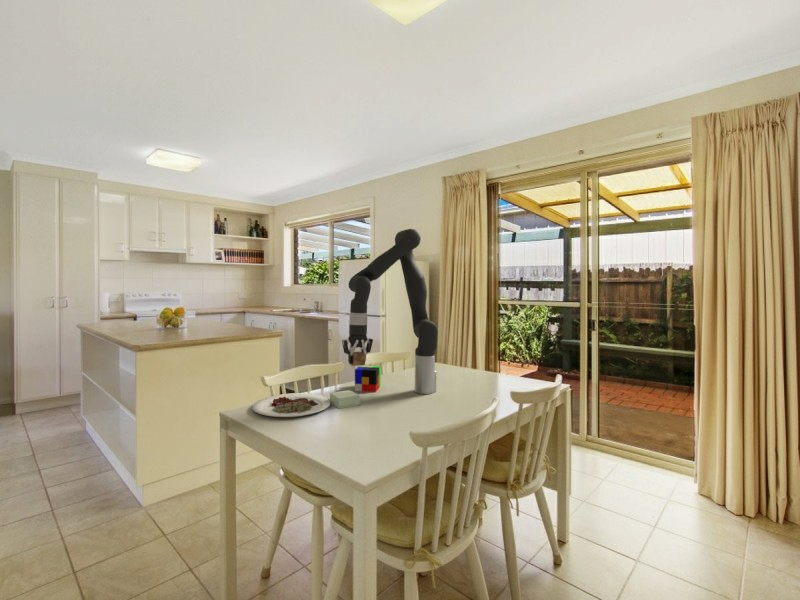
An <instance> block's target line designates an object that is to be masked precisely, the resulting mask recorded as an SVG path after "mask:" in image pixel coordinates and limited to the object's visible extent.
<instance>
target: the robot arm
mask: <svg viewBox="0 0 800 600" xmlns="http://www.w3.org/2000/svg"><path fill="white" fill-rule="evenodd" d="M421 239H422V238H421V234H420V232H419V231H418V230H416V229H415V228H408V229H403V230H400V231H398V232H397V233H396V235H395V237H394V243H395V244H394V245H393V246H392V247H390V248H389V249H388V250H386V251H384V252H383V253H382V254H380V255H379V256H377V257H376V258H375V259H373V260H372V261H371V262H370V263H369V264H368V265H367V266H366V267H364V268H363V269H362V270H359V272H357V273H356V274H354V275H353V276H352V277H351V278H350V279H349V281H348V289H349V290H350V291H351V292H353V293H354V297H353V298H352V299H351V300H350V306H349V307H350V313H349V320H348V322H349V323H348V326H349V327H348V337H347V339H342V340H341V345H342V347H343V353H344V354H346V355H348V357H347V358H348V360H347V361H348V364H349V363H350V364H349V365H351V364H353V353H354V352H355V351H356V349H357V348H359V349H360V352H363V353H365V362H366V361H367V354H369V353H371V351H372V346H373V343H374V339H373V338H368V337H367V336H368V335H367V334H368V303H369V302H368V301H369V298H370V294H371V288H372V285H371V282H374V281H377V280H379V278H380V277H382V275H384V274H385V273H386V272H387V271H388V270H389V269H390V268H391V267H392V266H393V265H395V264H396V263H397V262H398V261H399V260H400V261H399V262H400V265H401V271H402V274H403V279H404V284H405V285H404V286H405V289H406V294H407V298H408V303H409V307H410V311H411V319H412V329H413V333H414V335H415V336H416V338H417V339H418V342H417V346H416V348H415V349H414V353H415V354H414V357H415V358H414V393H417V394H420V395H421V394H422V395H429V394H430V395H431V394H434V393H435V392H437V371H436V350H437V347H438V327H437V325H436V323H435V322H433V321H431V320H429V317H428V313H427V299H428V298H427V296H428V295H427V293H428V291H427V290H428V289H427V284H426V280H425V276H424V274H423V272H422V270H421V269H420V267H419V265H418V263H417V262H416V259H415V256H414V251H413V250H414V249H416V248H418V247H419V246H420V244H421V242H422V241H421ZM348 344H349V346H348ZM365 344H366V345H365Z"/></svg>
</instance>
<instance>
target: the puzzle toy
mask: <svg viewBox="0 0 800 600" xmlns="http://www.w3.org/2000/svg"><path fill="white" fill-rule="evenodd" d="M381 373H382V371H381V366H380V365H366V364H365V365H360V366H358V367H356V368H355V369H354V391H355V392H371V393H376V392H377V391H378V390H380V387H381V378H382V377H381Z"/></svg>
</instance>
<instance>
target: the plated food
mask: <svg viewBox="0 0 800 600" xmlns="http://www.w3.org/2000/svg"><path fill="white" fill-rule="evenodd" d="M301 393H303V392H298V393H297V392H293V393H283V394H281V393H280V394H276V395H271V396H267V397H264V398H261V399H259V400H257V401H255V402H254V403H253V404H252V411H254V413H257V414H259V415H263V416H265V417H267V416H268V417H276V418H295V417H297V418H298V417H305V416H308V415H312V414H316V413H319V412H321V411H324V410H326V409H327V408H328V407H330V405H331V404H330V398H328V397H326V396H324V395H320V394H317V393H306V392H304V393H303V394H301ZM289 398H290V399H289ZM269 401H270V402H269ZM271 402H273V403H271ZM259 403H260V404H259Z"/></svg>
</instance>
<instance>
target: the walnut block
mask: <svg viewBox="0 0 800 600" xmlns="http://www.w3.org/2000/svg"><path fill="white" fill-rule="evenodd" d="M348 364H349V365H350V366H354V367H357V366H358V367H359V366H360V365H366V361H365V353H363V352H361V350H359V351H354V353H353V364H350V363H349V362H348Z"/></svg>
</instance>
